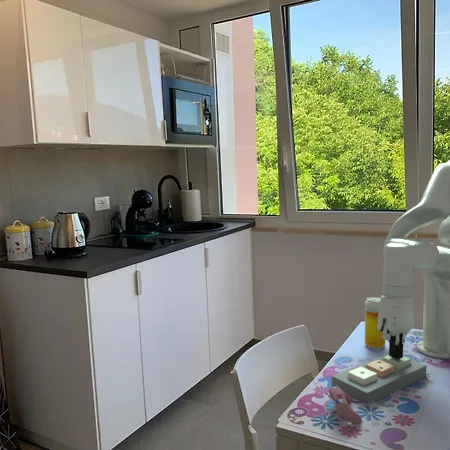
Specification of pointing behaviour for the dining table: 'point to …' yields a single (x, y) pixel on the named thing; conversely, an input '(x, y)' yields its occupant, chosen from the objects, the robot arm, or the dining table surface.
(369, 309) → the beer can
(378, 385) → the panel
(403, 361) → the button three
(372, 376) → the button one
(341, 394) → the video game controller
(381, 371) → the button two
